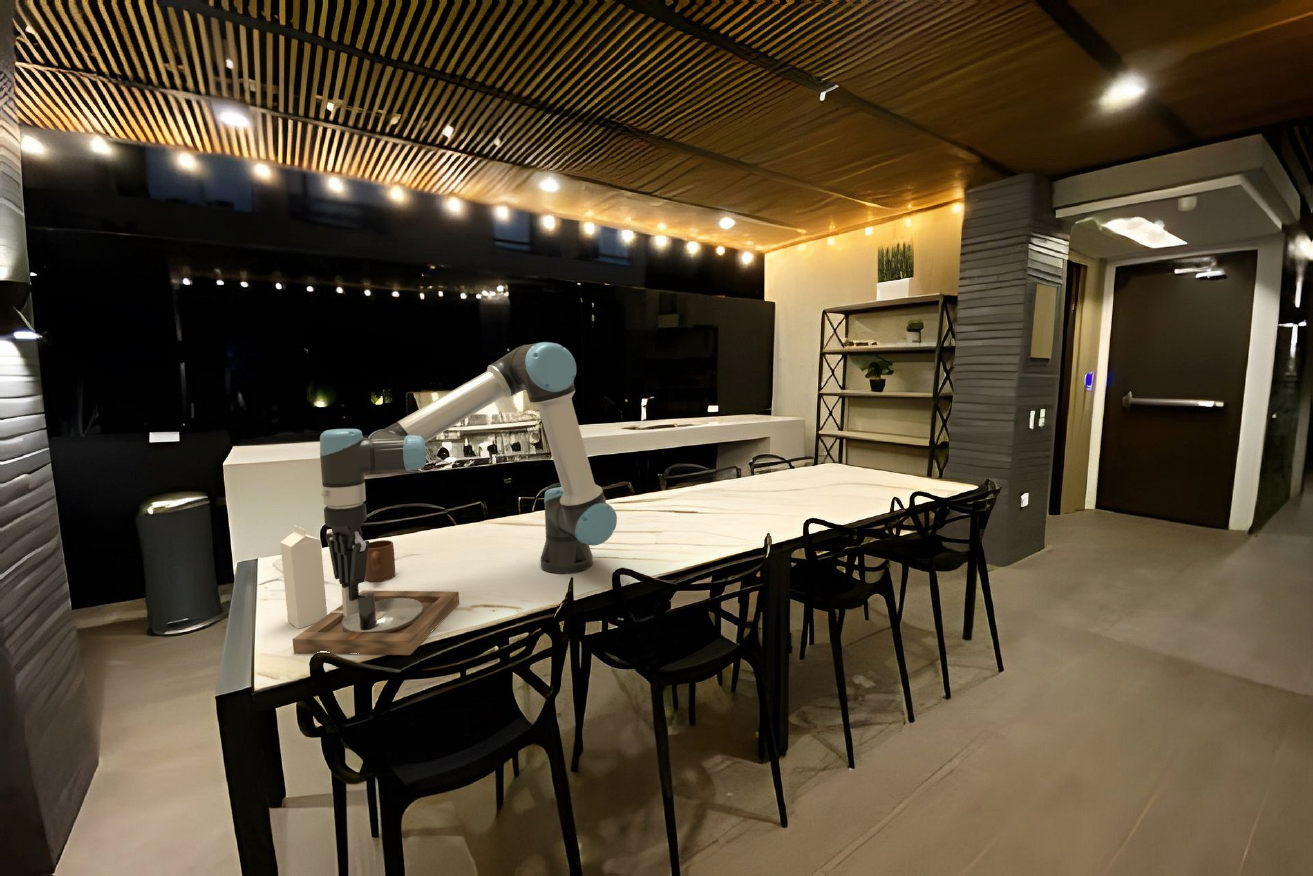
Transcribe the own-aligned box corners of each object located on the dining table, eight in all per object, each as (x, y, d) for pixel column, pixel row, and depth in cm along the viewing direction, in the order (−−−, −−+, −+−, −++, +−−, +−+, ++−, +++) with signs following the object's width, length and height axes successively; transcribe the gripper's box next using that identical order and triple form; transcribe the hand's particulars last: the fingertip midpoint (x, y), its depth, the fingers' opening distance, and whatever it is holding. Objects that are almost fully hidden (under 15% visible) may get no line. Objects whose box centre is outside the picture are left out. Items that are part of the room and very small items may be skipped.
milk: (316, 612, 126) (309, 521, 123) (328, 619, 122) (320, 526, 120) (287, 622, 121) (278, 527, 118) (297, 629, 117) (289, 532, 115)
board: (459, 603, 130) (458, 590, 130) (410, 655, 106) (409, 640, 106) (363, 602, 131) (362, 589, 131) (293, 653, 107) (292, 638, 107)
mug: (391, 586, 141) (389, 552, 140) (359, 590, 138) (356, 555, 137) (397, 570, 152) (395, 538, 151) (367, 574, 150) (364, 541, 148)
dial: (366, 603, 126) (363, 570, 125) (434, 602, 127) (432, 569, 126) (326, 636, 110) (322, 598, 109) (403, 635, 111) (401, 597, 110)
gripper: (309, 503, 110) (317, 612, 113) (342, 513, 103) (349, 628, 106) (347, 496, 116) (353, 600, 119) (380, 505, 109) (386, 614, 112)
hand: (351, 613), depth 112 cm, fingers closed
